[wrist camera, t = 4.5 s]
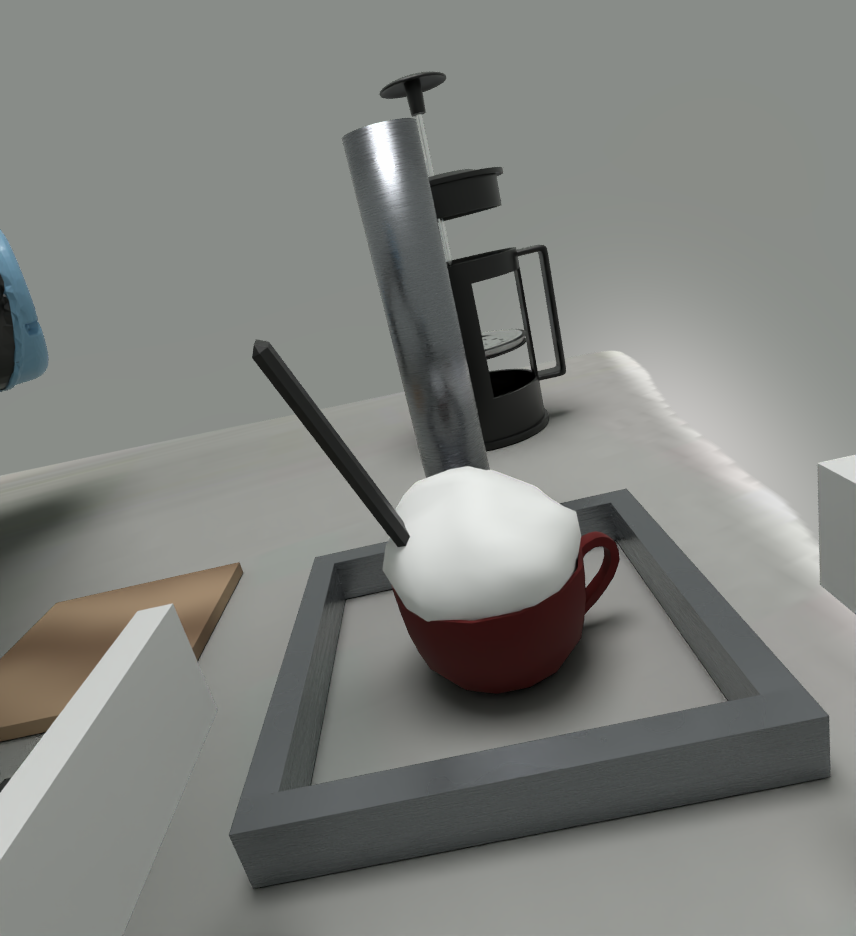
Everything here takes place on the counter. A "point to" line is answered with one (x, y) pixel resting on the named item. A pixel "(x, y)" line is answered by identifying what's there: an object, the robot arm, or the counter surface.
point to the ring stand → (525, 764)
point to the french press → (455, 195)
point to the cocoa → (472, 561)
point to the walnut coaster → (97, 642)
